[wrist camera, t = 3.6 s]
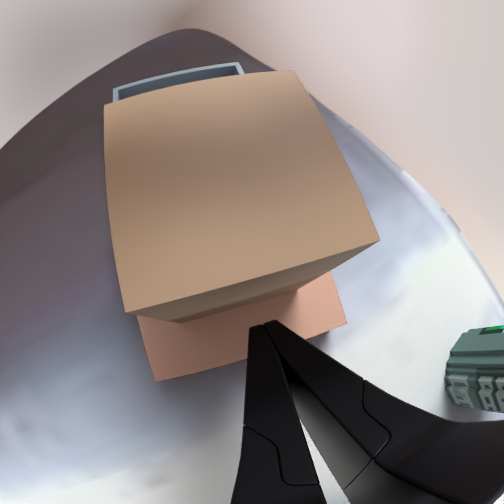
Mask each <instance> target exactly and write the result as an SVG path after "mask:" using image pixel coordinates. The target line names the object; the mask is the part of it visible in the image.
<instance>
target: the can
mask: <svg viewBox="0 0 504 504" xmlns="http://www.w3.org/2000/svg"><path fill="white" fill-rule="evenodd" d="M450 352H451V354H452V356H451V357H450V359H449V360H448V361H447V364H448V368H447V369H446V372H447V375H446V376H445V379H446V381H447V383H448V385H447V386H446V388H445V389H446V391H447V392H448V394H449V396H450V398H451V400H452V402H453V404H457V405H459V406H463V407H468V408H474V409H480V410H486V411H492V412H499V413H504V325H502V326H495V327H487V328H479V329H470V330H469V331H468V332H467V333H463V334H462V335H461V337H460V338H459V340H458V341H457V342H456V344H455V345H454V347H453V348H452V350H451V351H450Z"/></svg>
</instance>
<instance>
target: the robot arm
mask: <svg viewBox="0 0 504 504" xmlns="http://www.w3.org/2000/svg"><path fill="white" fill-rule="evenodd" d="M299 418H300V420H301V422H302V424H303V425H304V427H305V429H306V430H307V432H308V434H309V436H310V437H311V439H312V441H313V442H314V444H315V446H316V448H317V449H318V451H319V453H320V454H321V456H322V458H323V459H324V461H325V463H326V464H327V466H328V468H329V469H330V471H331V473H332V474H333V476H334V477H335V479H336V481H337V482H338V484H339V486H340V487H341V489H342V490H344V491H343V492H344V494H345V495H346V497H347V498H348V500H349V502H350V503H351V504H504V420H497V421H479V422H458V421H451V420H447V419H444V418H441V417H439V416H436V415H434V414H431V413H429V412H427V411H424V410H422V409H420V408H418V407H415V406H413V405H411V404H409V403H406V402H404V401H402V400H400V399H398V398H396V397H394V396H392V395H390V394H388V393H387V392H385V391H383V390H381V389H380V388H378V387H376V386H375V385H373V384H372V383H370V382H369V381H367V380H364V379H363V378H362V377H361V376H359V375H358V374H356V373H354V372H353V371H351V370H350V369H348V368H347V367H345V366H344V365H342V364H341V363H339V362H338V361H336V360H335V359H333V358H332V357H330V356H329V355H327V354H326V353H324V352H323V351H321V350H320V349H318V348H317V347H315V346H314V345H312V344H311V343H309V342H308V341H306V340H305V339H304V338H302V337H301V336H299V335H298V334H296V333H295V332H293V331H292V330H291V329H289V328H288V327H286V326H285V325H283V324H282V323H281V322H279V321H278V320H271V321H268V322H265V323H264V324H263V325H262V324H258V325H255V326H252V327H250V328H249V334H248V351H247V369H246V386H245V403H244V421H243V425H244V426H243V435H242V447H241V456H240V462H239V467H238V473H237V477H236V482H235V486H234V490H233V494H232V499H231V503H230V504H327V502H326V499H325V497H324V494H323V491H322V488H321V486H320V485H319V484H320V482H319V479H318V476H317V473H316V470H315V467H314V463H313V460H312V457H311V454H310V451H309V448H308V445H307V442H306V438H305V435H304V432H303V429H302V426H301V423H300V420H299Z"/></svg>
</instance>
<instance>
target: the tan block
mask: <svg viewBox="0 0 504 504" xmlns="http://www.w3.org/2000/svg"><path fill="white" fill-rule="evenodd" d="M104 155H105V176H106V190H107V201H108V211H109V220H110V228H111V236H112V243H113V250H114V256H115V262H116V268H117V273H118V279H119V284H120V289H121V294H122V299H123V303H124V308H125V312H126V313H129V314H134V315H139V316H144V317H149V318H154V319H159V320H164V321H169V322H175V323H183V322H186V321H190V320H194V319H198V318H202V317H205V316H209V315H213V314H216V313H220V312H223V311H227V310H230V309H234V308H237V307H241V306H244V305H248V304H251V303H255V302H258V301H261V300H265V299H268V298H271V297H274V296H278V295H281V294H284V293H287V292H291V291H294V290H297V289H299V288H301V287H303V286H304V285H306V284H308V283H310V282H311V281H313V280H315V279H317V278H318V277H320V276H322V275H323V274H325V273H327V272H329V271H330V270H332V269H334V268H335V267H337V266H339V265H340V264H342V263H344V262H345V261H347V260H349V259H350V258H352V257H354V256H355V255H357V254H359V253H360V252H362V251H364V250H365V249H367V248H368V247H370V246H372V245H373V244H375V243H377V242H378V241H380V238H379V236H378V233H377V231H376V228H375V226H374V223H373V221H372V218H371V216H370V213H369V211H368V209H367V206H366V204H365V202H364V200H363V197H362V195H361V193H360V191H359V188H358V186H357V184H356V182H355V180H354V178H353V175H352V173H351V171H350V169H349V167H348V165H347V163H346V161H345V159H344V157H343V155H342V153H341V151H340V149H339V147H338V145H337V143H336V141H335V140H334V138H333V136H332V134H331V132H330V130H329V128H328V127H327V125H326V123H325V121H324V119H323V118H322V116H321V114H320V112H319V111H318V109H317V107H316V105H315V104H314V102H313V100H312V99H311V97H310V95H309V94H308V92H307V90H306V89H305V87H304V86H303V84H302V83H301V81H300V79H299V78H298V76H297V75H296V73H295V72H294V70H292V71H273V72H260V73H250V74H241V75H233V76H225V77H218V78H212V79H206V80H200V81H195V82H190V83H185V84H180V85H175V86H171V87H166V88H162V89H158V90H154V91H150V92H146V93H143V94H139V95H135V96H132V97H129V98H125V99H122V100H119V101H116V102H113V103H110V104H107V105H104Z"/></svg>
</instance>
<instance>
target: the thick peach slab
mask: <svg viewBox="0 0 504 504" xmlns="http://www.w3.org/2000/svg"><path fill="white" fill-rule="evenodd" d="M137 319H138V323H139V327H140V331H141V334H142V338H143V342H144V345H145V349H146V352H147V356H148V359H149V363H150V366H151V369H152V372H153V376H154V379H155V382H158V381H163V380H167V379H172V378H176V377H181V376H185V375H189V374H193V373H197V372H201V371H205V370H209V369H213V368H216V367H220V366H224V365H227V364H231V363H234V362H238V361H241V360H244V359H247V351H248V334H249V328H250V327H252V326H255V325H258V324H262V325H263V324H264V323H265V322H268V321H271V320H278V321H279V322H281V323H282V324H283V325H285V326H286V327H288V328H289V329H291V330H292V331H293V332H295V333H296V334H298V335H299V336H301V337H302V338H304V339H308V338H311V337H313V336H316V335H319V334H321V333H324V332H327V331H329V330H332V329H334V328H337V327H339V326H342V325H344V324H347V320H346V317H345V314H344V311H343V308H342V304H341V301H340V298H339V295H338V292H337V289H336V286H335V283H334V280H333V277H332V274H331V271H329V272H327V273H325V274H323V275H322V276H320V277H318V278H317V279H315V280H313V281H311V282H310V283H308V284H306V285H304V286H303V287H301V288H299V289H297V290H294V291H291V292H287V293H284V294H281V295H278V296H274V297H271V298H268V299H265V300H261V301H258V302H255V303H251V304H248V305H244V306H241V307H237V308H234V309H230V310H227V311H223V312H220V313H216V314H213V315H209V316H205V317H202V318H198V319H194V320H190V321H186V322H183V323H175V322H169V321H164V320H159V319H154V318H149V317H144V316H139V315H137Z"/></svg>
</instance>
